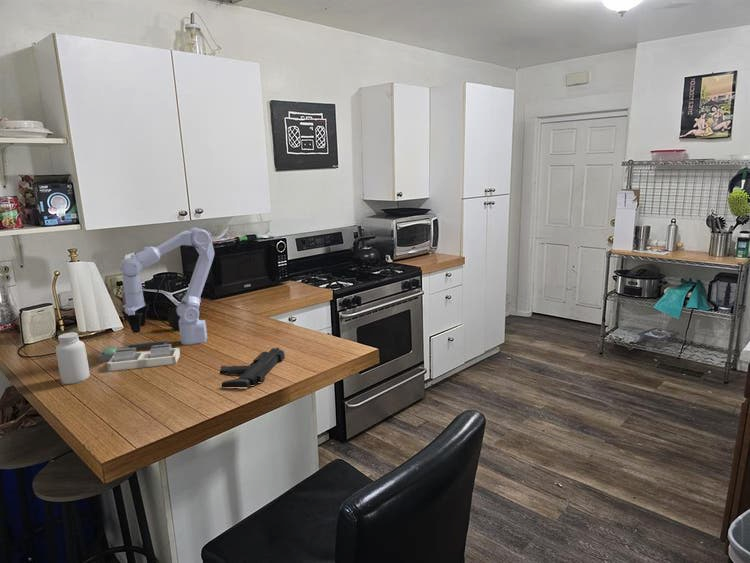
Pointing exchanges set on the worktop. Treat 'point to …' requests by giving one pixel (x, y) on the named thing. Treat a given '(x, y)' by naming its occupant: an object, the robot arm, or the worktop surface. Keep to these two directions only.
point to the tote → (146, 344)
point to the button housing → (105, 357)
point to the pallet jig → (144, 361)
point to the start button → (109, 350)
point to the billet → (125, 354)
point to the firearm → (253, 369)
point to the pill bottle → (72, 359)
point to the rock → (174, 318)
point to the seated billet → (161, 351)
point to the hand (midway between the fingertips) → (139, 329)
